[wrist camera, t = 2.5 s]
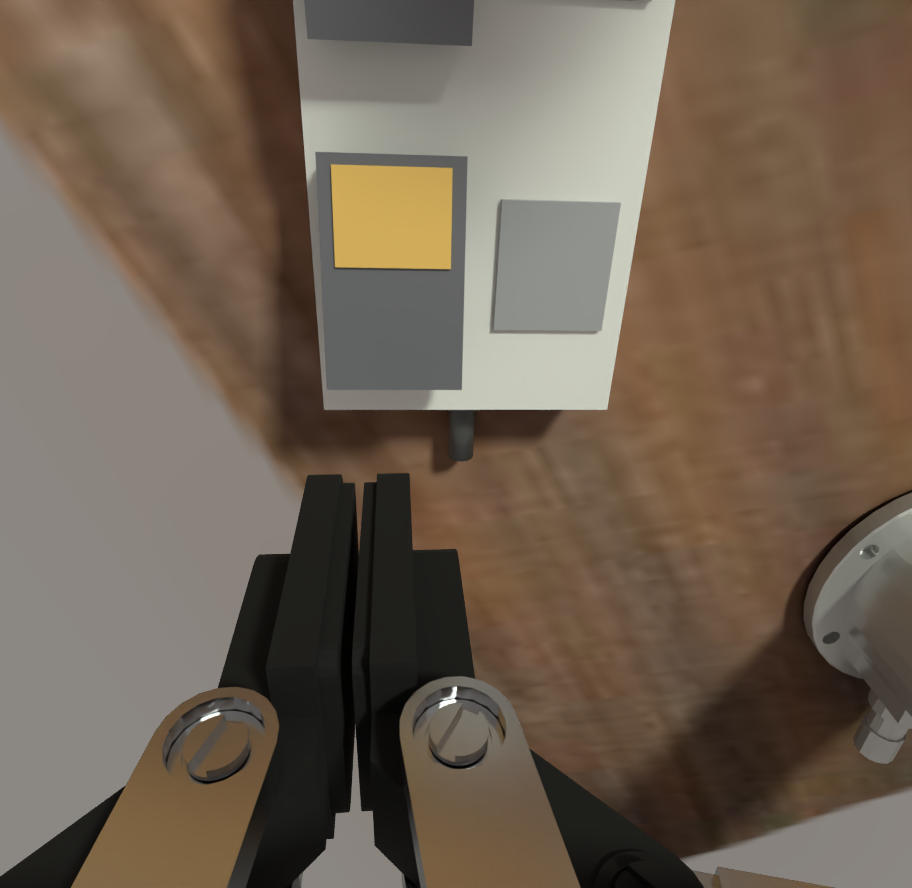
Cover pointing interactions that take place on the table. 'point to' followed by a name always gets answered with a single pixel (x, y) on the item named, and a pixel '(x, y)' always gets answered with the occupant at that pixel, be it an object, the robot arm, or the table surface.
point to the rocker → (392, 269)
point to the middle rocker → (391, 21)
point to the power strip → (510, 184)
